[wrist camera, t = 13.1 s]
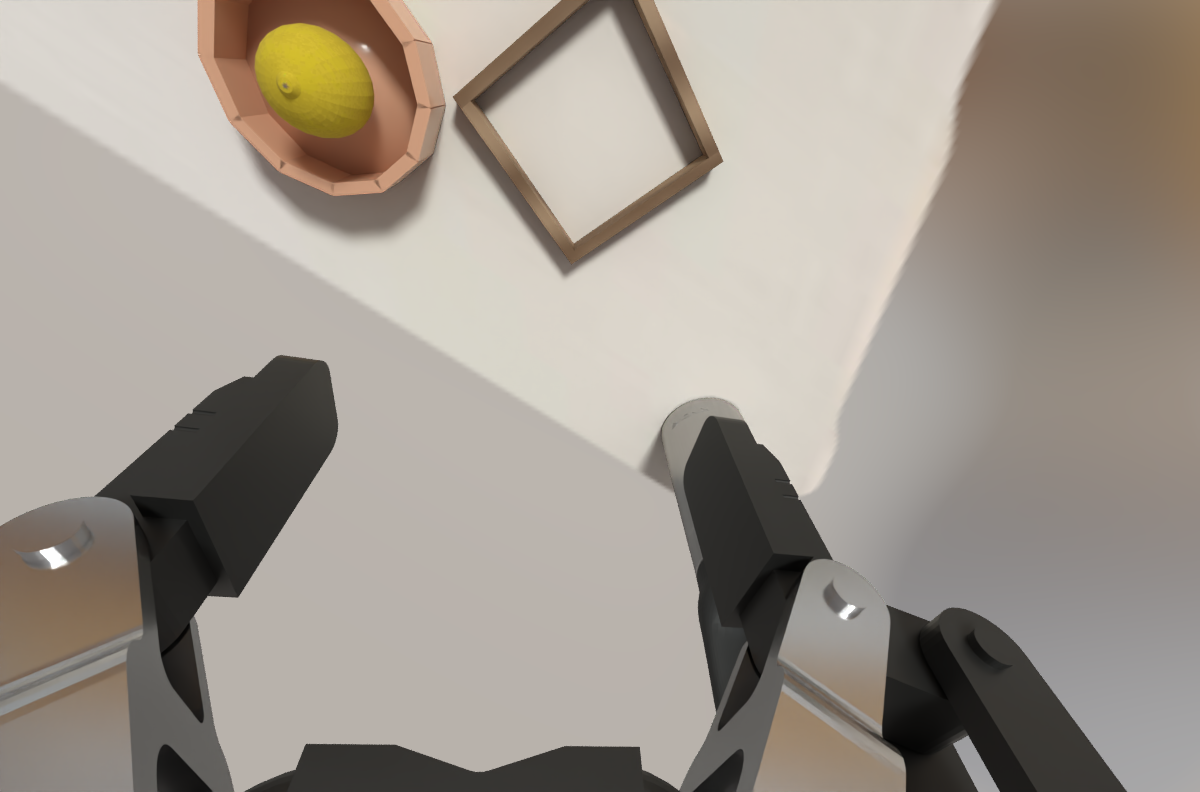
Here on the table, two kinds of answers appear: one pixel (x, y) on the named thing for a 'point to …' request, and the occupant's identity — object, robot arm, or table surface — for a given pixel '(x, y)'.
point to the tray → (466, 101)
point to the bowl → (395, 64)
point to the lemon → (314, 80)
